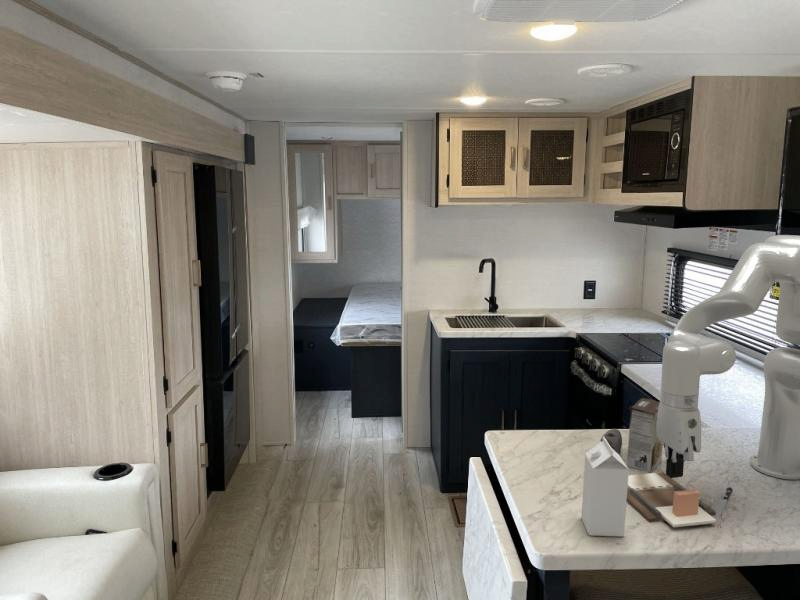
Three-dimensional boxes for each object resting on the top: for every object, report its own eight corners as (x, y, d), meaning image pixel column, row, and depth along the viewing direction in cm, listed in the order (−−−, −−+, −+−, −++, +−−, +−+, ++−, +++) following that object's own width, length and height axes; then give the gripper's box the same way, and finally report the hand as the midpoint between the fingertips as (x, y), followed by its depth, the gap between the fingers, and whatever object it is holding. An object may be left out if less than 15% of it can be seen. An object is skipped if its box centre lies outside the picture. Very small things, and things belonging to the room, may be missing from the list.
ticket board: (663, 475, 152) (664, 467, 152) (715, 515, 134) (716, 506, 133) (604, 480, 149) (605, 473, 149) (649, 522, 131) (649, 513, 130)
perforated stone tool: (606, 443, 171) (608, 420, 170) (626, 447, 169) (628, 423, 167) (594, 464, 158) (596, 439, 157) (616, 468, 156) (617, 443, 154)
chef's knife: (700, 522, 132) (715, 526, 130) (700, 517, 132) (716, 521, 130) (719, 488, 147) (733, 491, 145) (719, 483, 146) (733, 486, 145)
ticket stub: (694, 505, 136) (697, 482, 135) (716, 522, 129) (718, 498, 128) (654, 510, 134) (656, 486, 133) (673, 527, 127) (675, 502, 126)
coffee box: (637, 454, 164) (641, 397, 161) (662, 461, 160) (667, 402, 157) (625, 466, 157) (629, 406, 154) (651, 473, 153) (656, 412, 150)
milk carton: (614, 519, 132) (620, 436, 129) (624, 537, 125) (630, 451, 122) (581, 517, 133) (586, 435, 129) (588, 536, 126) (594, 450, 122)
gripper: (718, 409, 126) (711, 490, 130) (673, 385, 140) (669, 459, 144) (685, 412, 125) (680, 494, 128) (643, 388, 139) (640, 462, 143)
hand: (674, 475), depth 136 cm, fingers closed
